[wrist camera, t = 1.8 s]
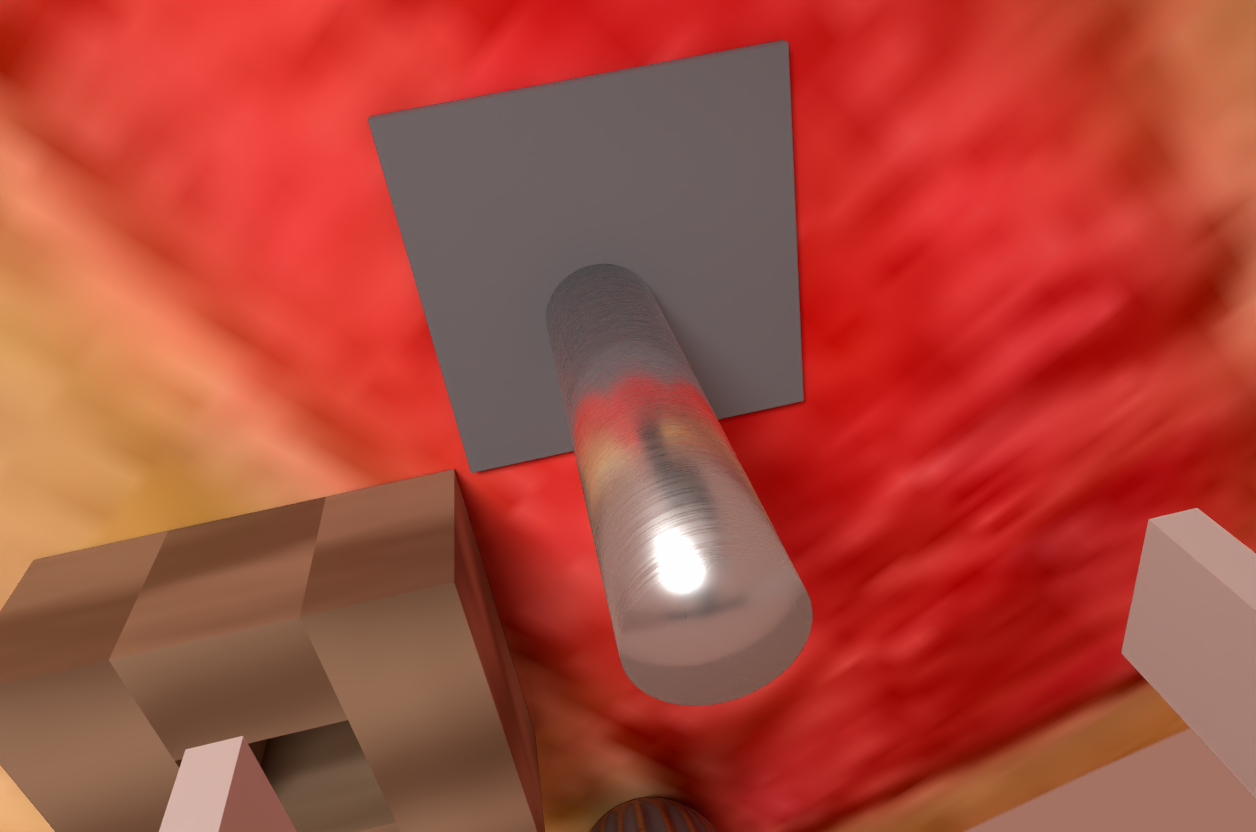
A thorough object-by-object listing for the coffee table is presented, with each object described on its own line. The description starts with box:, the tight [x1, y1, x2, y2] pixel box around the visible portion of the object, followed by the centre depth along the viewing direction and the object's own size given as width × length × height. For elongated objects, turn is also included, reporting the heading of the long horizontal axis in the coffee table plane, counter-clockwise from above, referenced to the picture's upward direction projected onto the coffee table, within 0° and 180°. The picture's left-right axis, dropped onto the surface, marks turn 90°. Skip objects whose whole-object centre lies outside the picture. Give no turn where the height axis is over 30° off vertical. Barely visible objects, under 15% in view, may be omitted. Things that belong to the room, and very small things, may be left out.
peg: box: [546, 264, 813, 706], centre depth 18 cm, size 3×3×12 cm
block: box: [0, 469, 545, 832], centre depth 26 cm, size 12×12×5 cm
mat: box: [368, 40, 804, 473], centre depth 23 cm, size 10×10×1 cm
